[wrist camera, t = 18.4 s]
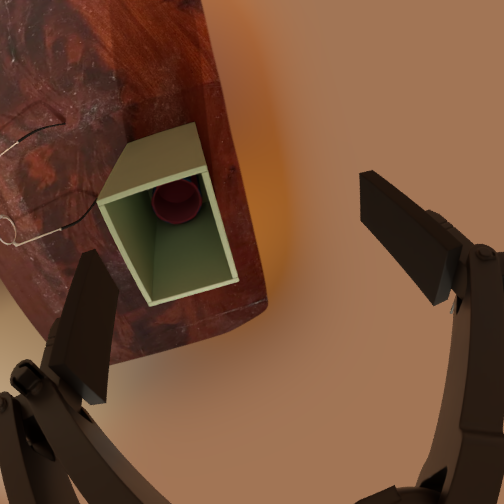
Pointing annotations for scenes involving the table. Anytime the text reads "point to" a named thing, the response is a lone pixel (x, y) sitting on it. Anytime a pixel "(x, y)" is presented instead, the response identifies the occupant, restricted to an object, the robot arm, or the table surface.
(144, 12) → the table surface
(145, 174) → the bin
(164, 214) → the mug
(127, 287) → the table surface
